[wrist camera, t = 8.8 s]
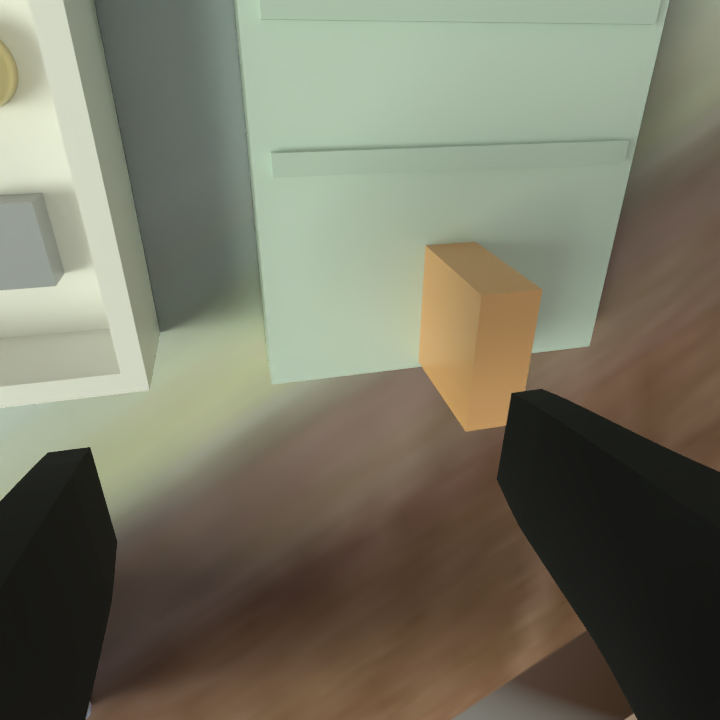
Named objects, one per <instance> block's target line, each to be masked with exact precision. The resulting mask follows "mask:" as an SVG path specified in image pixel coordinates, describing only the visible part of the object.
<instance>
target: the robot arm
mask: <svg viewBox="0 0 720 720" xmlns="http://www.w3.org/2000/svg"><path fill="white" fill-rule="evenodd" d="M497 480H498V483H499V485H500V487H501V489H502V491H503V494H504V496H505V498H506V500H507V502H508V505H509V507H510V509H511V511H512V513H513V515H514V517H515V519H516V521H517V523H518V525H519V526H520V528H521V530H522V531H523V533H524V534H525V536H526V538H527V539H528V541H529V542H530V544H531V545H532V547H533V548H534V550H535V552H536V553H537V555H538V556H539V558H540V559H541V561H542V562H543V564H544V565H545V567H546V568H547V570H548V571H549V573H550V574H551V576H552V577H553V579H554V580H555V582H556V584H557V585H558V587H559V588H560V590H561V591H562V593H563V594H564V596H565V597H566V599H567V600H568V602H569V603H570V605H571V606H572V608H573V609H574V611H575V612H576V614H577V615H578V617H579V618H580V620H581V621H582V623H583V624H584V626H585V627H586V629H587V630H588V632H589V633H590V635H591V637H592V638H593V640H594V641H595V643H596V645H597V646H598V648H599V650H600V651H601V653H602V655H603V656H604V658H605V660H606V661H607V663H608V665H609V667H610V668H611V671H612V672H613V674H614V676H615V678H616V680H617V682H618V684H619V685H620V687H621V689H622V691H623V693H624V695H625V697H626V699H627V700H628V702H629V704H630V706H631V708H632V710H633V712H634V714H635V716H636V717H637V719H638V720H720V472H718V471H716V470H714V469H711V468H709V467H707V466H704V465H702V464H700V463H698V462H695V461H693V460H691V459H689V458H686V457H684V456H682V455H680V454H678V453H676V452H673V451H671V450H669V449H667V448H665V447H663V446H661V445H659V444H657V443H654V442H652V441H650V440H648V439H646V438H644V437H642V436H640V435H638V434H636V433H634V432H632V431H630V430H628V429H626V428H624V427H622V426H620V425H618V424H616V423H614V422H612V421H610V420H608V419H606V418H604V417H602V416H600V415H598V414H596V413H594V412H592V411H589V410H587V409H585V408H583V407H581V406H579V405H577V404H575V403H573V402H571V401H569V400H567V399H564V398H562V397H560V396H558V395H555V394H553V393H550V392H548V391H545V390H543V389H538V390H530V391H522V392H515V393H511V399H510V405H509V411H508V417H507V422H506V428H505V434H504V440H503V446H502V452H501V458H500V464H499V470H498V476H497ZM116 548H117V540H116V536H115V533H114V529H113V526H112V522H111V519H110V515H109V512H108V508H107V505H106V501H105V498H104V494H103V491H102V487H101V484H100V480H99V477H98V473H97V470H96V466H95V463H94V459H93V455H92V452H91V448H90V447H88V448H80V449H72V450H64V451H57V452H49V453H47V454H46V455H45V456H44V457H43V458H42V459H41V460H40V461H39V462H38V463H37V464H36V465H35V466H34V467H33V468H32V469H31V470H30V471H29V472H28V473H27V474H26V475H25V476H24V477H23V478H22V479H21V480H20V481H19V482H18V483H17V484H16V485H15V486H14V488H13V489H12V490H11V491H10V492H9V493H8V494H7V495H6V496H5V497H4V498H3V499H2V500H1V501H0V720H86V719H87V718H88V717H89V716H90V715H91V710H92V705H91V702H90V698H91V693H92V689H93V684H94V680H95V676H96V671H97V667H98V662H99V658H100V653H101V649H102V644H103V639H104V635H105V630H106V626H107V621H108V616H109V612H110V607H111V602H112V592H113V583H114V573H115V560H116Z"/></svg>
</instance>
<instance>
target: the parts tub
mask: <svg viewBox="0 0 720 720" xmlns="http://www.w3.org/2000/svg"><path fill="white" fill-rule="evenodd" d="M159 336H160V331H159V325H158V320H157V315H156V310H155V305H154V300H153V295H152V290H151V285H150V280H149V275H148V270H147V265H146V260H145V255H144V250H143V245H142V240H141V235H140V230H139V225H138V220H137V215H136V210H135V205H134V200H133V195H132V189H131V184H130V179H129V174H128V169H127V164H126V159H125V154H124V149H123V144H122V139H121V134H120V129H119V124H118V119H117V114H116V109H115V104H114V99H113V94H112V89H111V84H110V79H109V74H108V69H107V64H106V58H105V53H104V48H103V43H102V38H101V33H100V28H99V23H98V18H97V13H96V8H95V3H94V0H0V408H4V407H13V406H21V405H30V404H38V403H47V402H55V401H64V400H72V399H81V398H89V397H98V396H106V395H115V394H123V393H131V392H140V391H148V390H150V385H151V380H152V374H153V369H154V363H155V358H156V352H157V347H158V341H159Z"/></svg>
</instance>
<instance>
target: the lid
mask: <svg viewBox="0 0 720 720" xmlns="http://www.w3.org/2000/svg"><path fill="white" fill-rule="evenodd" d="M668 5H669V0H234V8H235V19H236V29H237V40H238V51H239V61H240V72H241V83H242V93H243V104H244V114H245V125H246V136H247V146H248V157H249V168H250V178H251V189H252V199H253V210H254V221H255V231H256V242H257V253H258V263H259V274H260V285H261V295H262V306H263V316H264V327H265V338H266V348H267V359H268V365H269V371H270V376H271V381H272V385H273V384H281V383H289V382H297V381H306V380H314V379H322V378H330V377H339V376H347V375H355V374H364V373H372V372H380V371H388V370H397V369H405V368H413V367H421V366H422V368H423V369H424V371H425V372H426V374H427V375H428V377H429V378H430V379H431V381H432V382H433V384H434V385H435V387H436V388H437V390H438V391H439V393H440V394H441V396H442V397H443V399H444V400H445V402H446V403H447V405H448V406H449V408H450V409H451V411H452V412H453V414H454V415H455V417H456V418H457V419H458V421H459V422H460V424H461V425H462V427H463V428H464V430H465V431H473V430H480V429H486V428H493V427H500V426H506V422H507V417H508V411H509V405H510V399H511V393H515V392H522V391H525V388H526V382H527V376H528V370H529V365H530V359H531V353H537V352H545V351H553V350H562V349H570V348H578V347H587V346H590V341H591V337H592V333H593V329H594V324H595V320H596V316H597V311H598V307H599V303H600V298H601V294H602V290H603V285H604V281H605V277H606V272H607V268H608V264H609V259H610V255H611V251H612V246H613V242H614V238H615V234H616V229H617V225H618V221H619V216H620V212H621V208H622V203H623V199H624V195H625V190H626V186H627V182H628V177H629V173H630V169H631V164H632V160H633V156H634V151H635V147H636V143H637V139H638V134H639V130H640V126H641V121H642V117H643V113H644V108H645V104H646V100H647V95H648V91H649V87H650V82H651V78H652V74H653V69H654V65H655V61H656V56H657V52H658V48H659V44H660V39H661V35H662V31H663V26H664V22H665V18H666V13H667V9H668Z"/></svg>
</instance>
